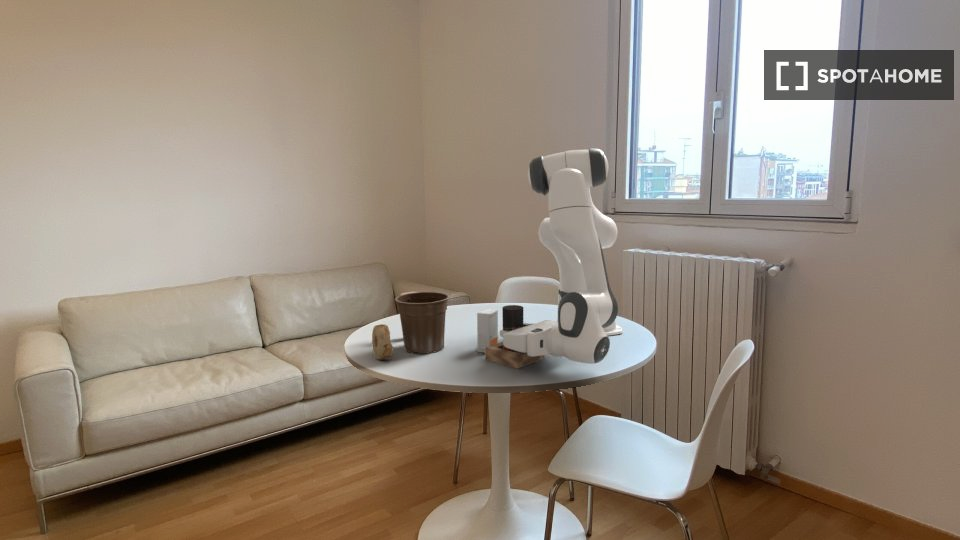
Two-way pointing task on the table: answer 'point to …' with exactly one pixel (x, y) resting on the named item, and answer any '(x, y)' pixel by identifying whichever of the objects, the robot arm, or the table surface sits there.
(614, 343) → the table surface
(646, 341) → the table surface
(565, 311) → the robot arm
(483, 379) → the table surface
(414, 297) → the plant pot
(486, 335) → the skincare box
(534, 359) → the walnut socket block
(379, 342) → the stone disc
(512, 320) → the deodorant
